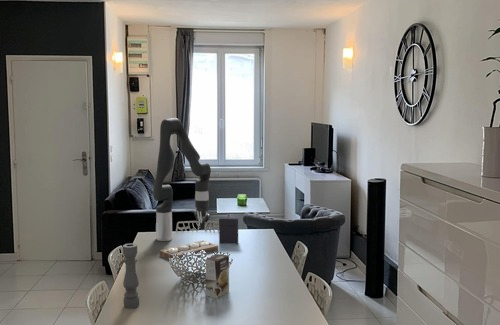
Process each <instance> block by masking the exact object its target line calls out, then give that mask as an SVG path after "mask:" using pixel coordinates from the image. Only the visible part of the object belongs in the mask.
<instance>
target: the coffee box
mask: <svg viewBox="0 0 500 325" xmlns="http://www.w3.org/2000/svg"><path fill="white" fill-rule="evenodd" d="M229 292H230V256H229V255H226V254H225V255H224V254H219V253H216V254H214V255H212V256H209V257H207V258H205V295H206V297H207V296H208V297H212V298H214V299H217V298H220V297H222V296H223V295H225V294H227V293H229Z"/></svg>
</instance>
